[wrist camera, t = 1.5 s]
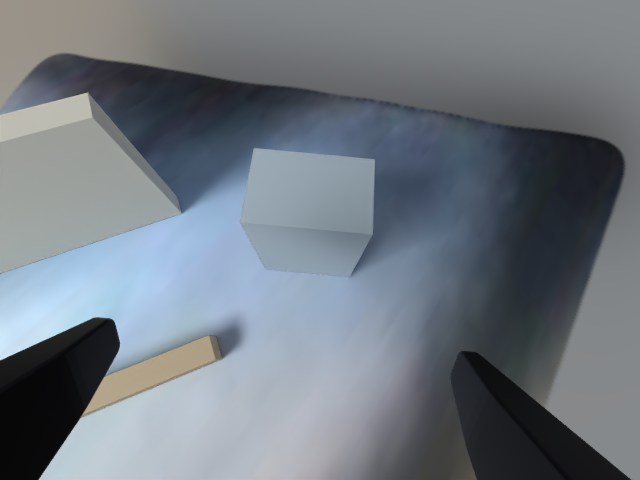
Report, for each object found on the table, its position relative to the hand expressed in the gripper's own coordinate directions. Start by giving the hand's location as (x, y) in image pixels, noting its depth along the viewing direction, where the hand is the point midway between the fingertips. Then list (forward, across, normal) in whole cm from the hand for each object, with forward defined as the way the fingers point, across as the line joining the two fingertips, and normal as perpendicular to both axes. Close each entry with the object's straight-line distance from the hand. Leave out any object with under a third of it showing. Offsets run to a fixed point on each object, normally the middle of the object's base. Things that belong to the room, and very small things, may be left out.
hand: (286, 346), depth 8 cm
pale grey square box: (+14, 0, +4) cm, 15 cm away
